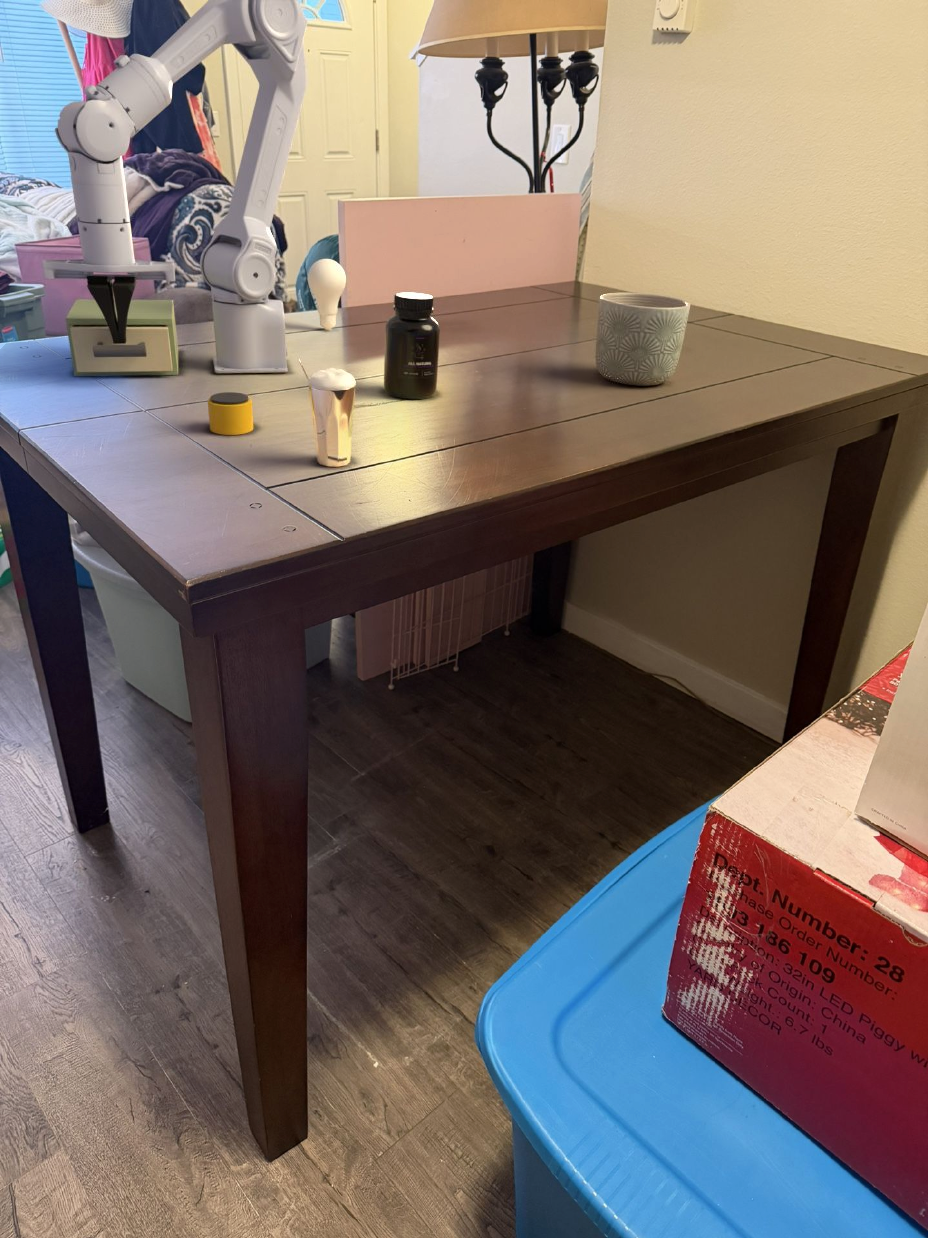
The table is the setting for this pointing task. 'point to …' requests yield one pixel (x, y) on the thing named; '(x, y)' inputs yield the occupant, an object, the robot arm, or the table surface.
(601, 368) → the planter
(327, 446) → the milkshake
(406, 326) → the supplement bottle
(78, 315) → the cabinet
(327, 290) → the lightbulb
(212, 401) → the cap
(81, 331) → the drawer
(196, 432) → the table surface
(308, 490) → the table surface
